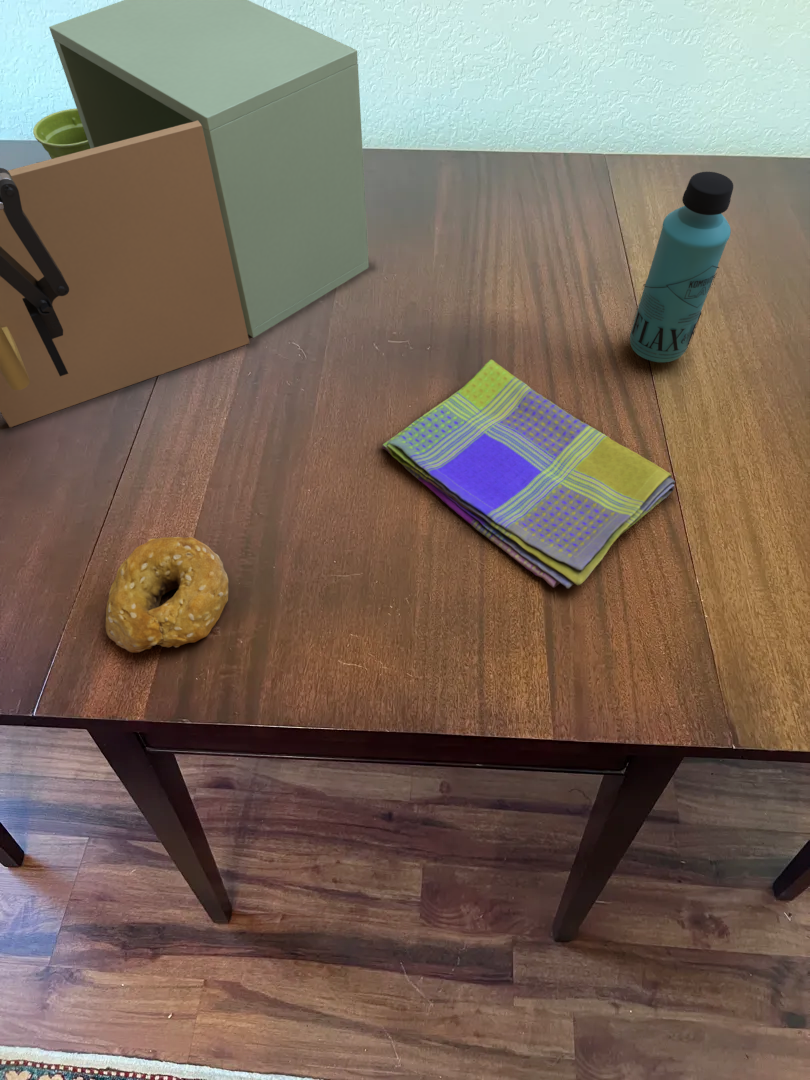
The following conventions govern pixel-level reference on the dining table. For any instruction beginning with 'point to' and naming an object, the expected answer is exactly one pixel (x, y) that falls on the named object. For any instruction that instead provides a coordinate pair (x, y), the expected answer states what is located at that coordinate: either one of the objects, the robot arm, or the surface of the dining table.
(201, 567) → the bagel
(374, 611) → the dining table surface
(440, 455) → the dish towel
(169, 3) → the cupboard
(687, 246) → the beverage bottle
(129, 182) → the cupboard door
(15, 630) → the dining table surface
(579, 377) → the dining table surface
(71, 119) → the plant pot
